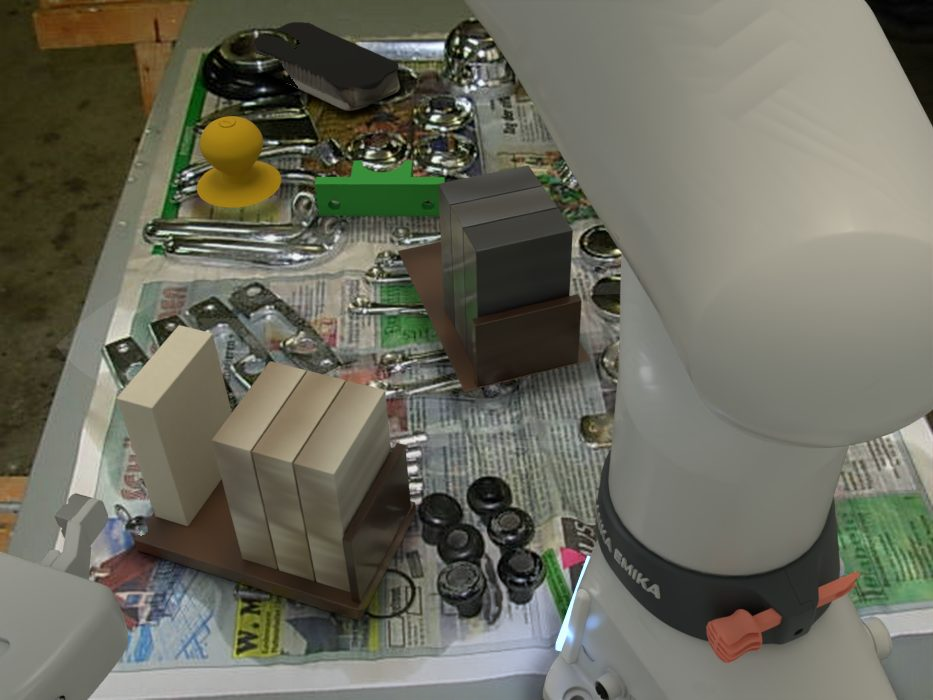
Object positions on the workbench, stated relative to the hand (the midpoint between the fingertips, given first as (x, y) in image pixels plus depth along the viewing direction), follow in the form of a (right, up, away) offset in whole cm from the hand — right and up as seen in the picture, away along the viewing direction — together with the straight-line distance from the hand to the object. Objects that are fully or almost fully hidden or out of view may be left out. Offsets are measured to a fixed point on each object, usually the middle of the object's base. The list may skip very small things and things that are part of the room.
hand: (14, 480), depth 56 cm
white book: (+5, -2, +19) cm, 20 cm away
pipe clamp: (+15, +19, +44) cm, 50 cm away
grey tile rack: (+24, +10, +33) cm, 42 cm away
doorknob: (+2, +21, +47) cm, 51 cm away
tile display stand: (+10, -5, +17) cm, 21 cm away
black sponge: (+8, +35, +62) cm, 71 cm away
